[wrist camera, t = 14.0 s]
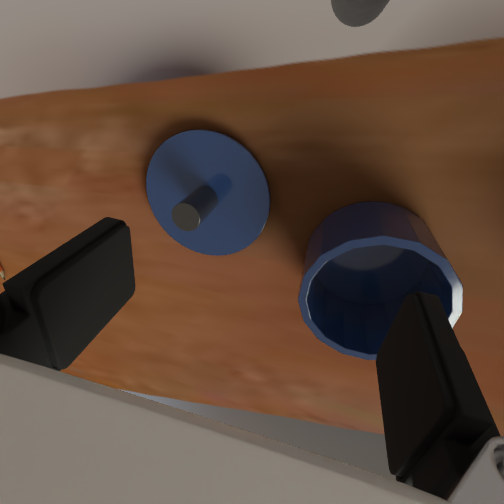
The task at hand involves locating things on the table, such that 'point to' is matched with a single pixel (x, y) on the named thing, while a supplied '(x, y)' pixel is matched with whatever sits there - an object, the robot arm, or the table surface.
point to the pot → (371, 275)
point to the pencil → (2, 272)
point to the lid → (208, 192)
